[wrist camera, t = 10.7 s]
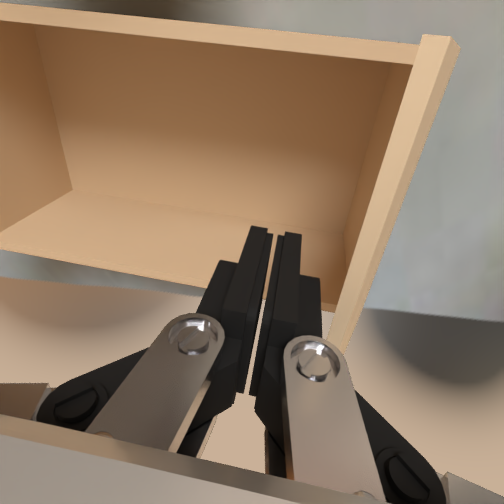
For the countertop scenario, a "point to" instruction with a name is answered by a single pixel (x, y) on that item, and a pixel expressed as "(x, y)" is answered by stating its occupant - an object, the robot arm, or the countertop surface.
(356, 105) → the carton
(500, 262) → the countertop surface
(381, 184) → the flap
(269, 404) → the robot arm
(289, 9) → the countertop surface
